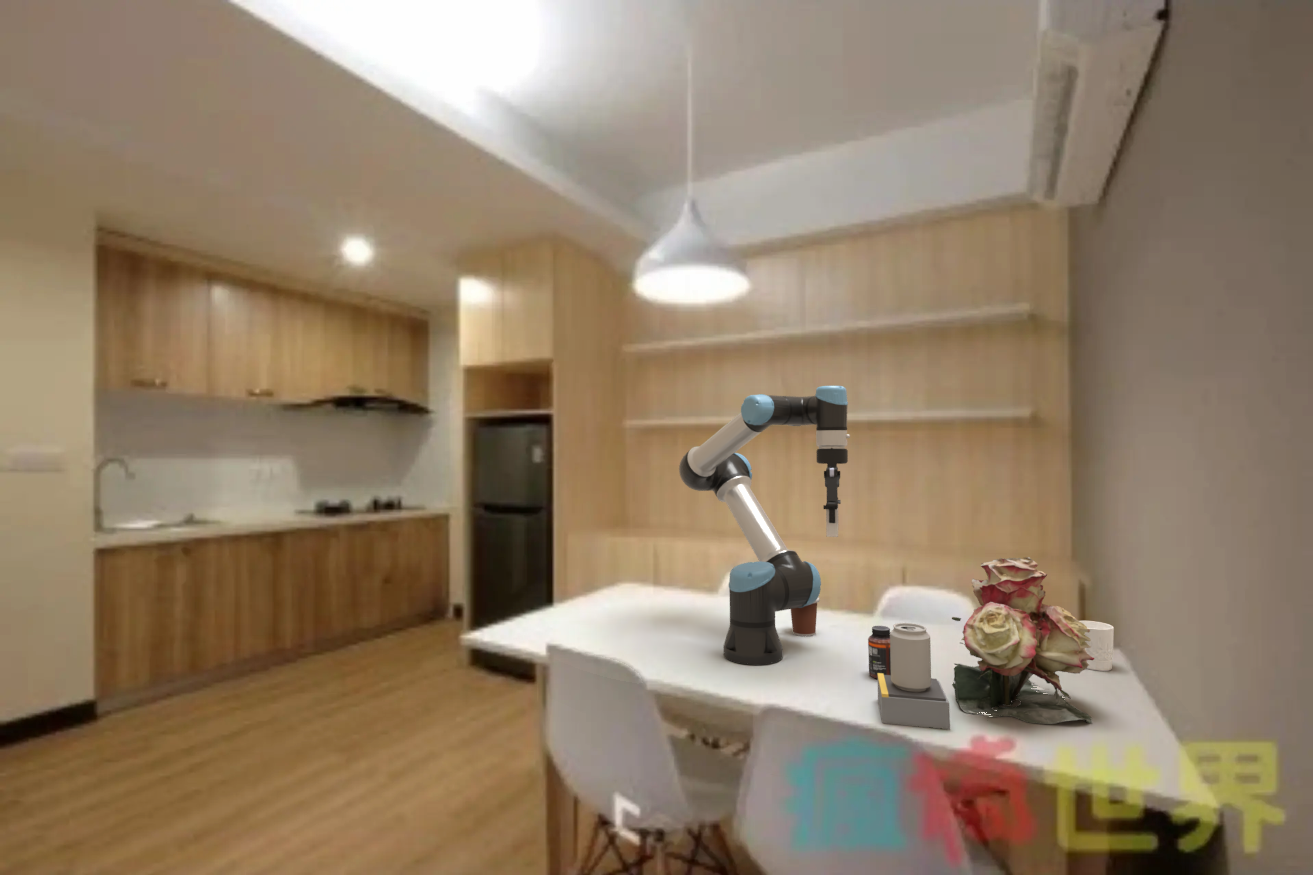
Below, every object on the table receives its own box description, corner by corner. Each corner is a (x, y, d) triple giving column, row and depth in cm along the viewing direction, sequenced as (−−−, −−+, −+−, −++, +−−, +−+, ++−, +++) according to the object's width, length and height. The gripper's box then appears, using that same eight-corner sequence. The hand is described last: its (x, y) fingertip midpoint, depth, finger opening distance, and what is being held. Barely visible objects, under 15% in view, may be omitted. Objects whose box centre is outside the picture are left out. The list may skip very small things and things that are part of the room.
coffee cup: (787, 628, 190) (786, 588, 190) (818, 629, 188) (817, 588, 189) (789, 637, 181) (788, 594, 181) (822, 638, 179) (821, 595, 180)
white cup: (1117, 665, 154) (1116, 624, 154) (1112, 674, 148) (1110, 631, 148) (1078, 658, 159) (1077, 618, 160) (1072, 666, 154) (1071, 625, 154)
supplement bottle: (895, 673, 150) (894, 625, 151) (896, 682, 145) (895, 632, 145) (868, 670, 152) (868, 623, 153) (868, 679, 147) (867, 629, 147)
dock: (882, 722, 123) (881, 693, 123) (877, 699, 135) (877, 672, 135) (949, 729, 120) (949, 699, 120) (939, 704, 131) (938, 677, 132)
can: (924, 679, 131) (923, 621, 131) (936, 693, 123) (935, 631, 123) (886, 679, 131) (885, 620, 132) (896, 692, 124) (895, 630, 124)
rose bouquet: (961, 722, 123) (958, 566, 124) (946, 672, 151) (943, 545, 151) (1118, 740, 115) (1113, 573, 115) (1072, 684, 142) (1068, 549, 143)
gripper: (848, 447, 146) (848, 540, 146) (847, 447, 170) (847, 527, 170) (814, 448, 148) (815, 539, 148) (818, 447, 172) (818, 526, 172)
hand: (832, 532), depth 159 cm, fingers open, 13 cm apart
